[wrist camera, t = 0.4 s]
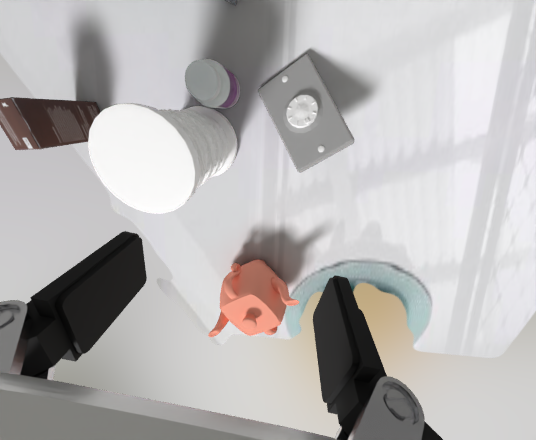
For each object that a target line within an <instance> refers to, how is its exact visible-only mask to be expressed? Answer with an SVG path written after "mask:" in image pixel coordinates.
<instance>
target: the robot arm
mask: <svg viewBox="0 0 536 440" xmlns="http://www.w3.org/2000/svg"><path fill="white" fill-rule="evenodd" d="M145 282H146V271H145V262H144V254H143V246H142V239H141V238H139V236H138V234H135V233H130V232H126V231H125V232H122V233H120V234H119V235H117V236H116V237H115V238H113V239H112V240H110V241H109V242H108V243H106V244H105V245H103V246H102V247H101V248H99V249H98V250H96V251H95V252H94V253H92V254H91V255H89V256H88V257H87V258H85V259H84V260H83V261H81V262H80V263H78V264H77V265H76V266H74V267H73V268H71V269H70V270H69V271H67V272H66V273H64V274H63V275H61V276H60V277H59V278H57V279H56V280H54V281H53V282H52V283H50V284H49V285H47V286H46V287H45V288H43V289H42V290H41V291H39V292H38V293H36V294H35V295H33V296H32V297H31V301H30V302H29V303H27V304H25V303H24V302H22V301H17V300H16V301H15V300H10V301H4V302H0V440H443V439H442V438H441V437H440V436H439V435H438V434H437V433H436V432H435V431H434V430H432V428H431V427H430V426H429V425H428V424H427V423H426V422H425V421H424V414H423V410H422V407H421V405H420V403H419V402H418V399H417V398H416V397H415V395H414V394H413V393H412V391H411V390H410V389H409V388H408V387H407V386H406V385H405V384H403V383H402V382H401V381H399V380H398V379H395V378H393V377H387V375H386V373H385V370H384V367H383V365H382V362H381V359H380V357H379V354H378V352H377V349H376V346H375V344H374V341H373V338H372V335H371V333H370V330H369V327H368V325H367V322H366V319H365V317H364V314H363V313H362V311H361V310H360V309H359V308H358V305H357V303H356V300H355V297H354V294H353V292H352V289H351V286H350V283H349V281H348V279H347V278H345V277H340V276H334V277H333V278H330V279H329V281H328V283H327V285H326V287H325V290H324V292H323V294H322V296H321V298H320V301H319V303H318V305H317V307H316V309H315V312H314V315H313V324H314V332H315V341H316V349H317V358H318V365H319V374H320V382H321V391H322V398H323V401H324V402H325V403H327V408H328V412H329V413H334V414H338V420H339V424H340V428H339V430H338V432H337V434H336V436H335V438H331V437H327V436H323V435H319V434H314V433H310V432H306V431H301V430H296V429H292V428H288V427H283V426H279V425H273V424H269V423H264V422H259V421H255V420H250V419H245V418H240V417H235V416H230V415H225V414H220V413H216V412H211V411H205V410H201V409H195V408H191V407H186V406H180V405H176V404H170V403H166V402H161V401H156V400H151V399H146V398H141V397H136V396H131V395H126V394H120V393H115V392H110V391H105V390H100V389H95V388H90V387H85V386H79V385H74V384H69V383H64V382H58V381H53V378H54V370H55V365H56V363H57V362H58V361H59V360H60V359H61V358H62V359H66V360H71V361H77V360H78V358H79V357H80V356H81V355H82V354H83V353H86V352H88V351H89V350H90V349H91V348H92V347H93V345H94V344H95V343H96V342H97V341H98V339H99V338H100V337H101V336H102V335H103V333H104V332H105V331H106V330H107V329H108V327H109V326H110V325H111V324H112V323H113V322H114V320H115V319H116V318H117V317H118V316H119V314H120V313H121V312H122V311H123V309H124V308H125V307H126V306H127V305H128V304H129V302H130V301H131V300H132V299H133V298H134V297H135V295H136V294H137V293H138V292H139V291H140V289H141V288H142V287H143V286H144V284H145Z"/></svg>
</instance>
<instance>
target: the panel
mask: <svg viewBox="0 0 536 440" xmlns="http://www.w3.org/2000/svg"><path fill="white" fill-rule="evenodd" d="M225 1H227V2H229V3H232V4H234V5H236V2H237V0H225Z"/></svg>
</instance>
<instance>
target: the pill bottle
mask: <svg viewBox="0 0 536 440" xmlns="http://www.w3.org/2000/svg"><path fill="white" fill-rule="evenodd" d="M185 82H186V86H187V89H188V91H189V92H190V93H191V95H192V96H194V97H195V98H196V100H197V101H198V102H199V103H201V104H202V105H204V106H207V107H210V108H223V109H227V108H230V107H232V106H234V105H235V104H236V103H237V101H238V99H239V96H240V86H239V82H238V80H237V78H236V77H235V75H234V74H233V73H231V72H230V71H229V70H228V69H226V68H225V67H224V66H222V65H221V64H220V63H218V62H216V61H214V60H212V59H202V60H198V61H194V62H192V63H191V64H190V65H189V66H188V68H187V70H186V73H185Z"/></svg>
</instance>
